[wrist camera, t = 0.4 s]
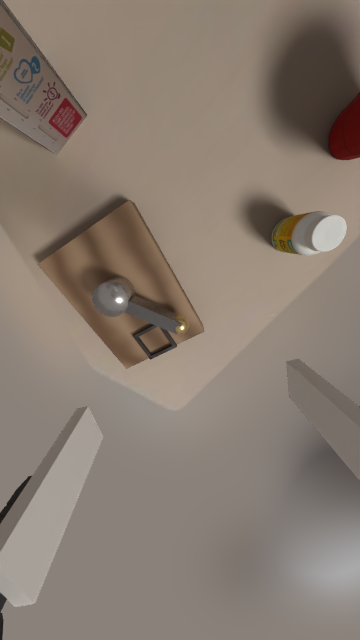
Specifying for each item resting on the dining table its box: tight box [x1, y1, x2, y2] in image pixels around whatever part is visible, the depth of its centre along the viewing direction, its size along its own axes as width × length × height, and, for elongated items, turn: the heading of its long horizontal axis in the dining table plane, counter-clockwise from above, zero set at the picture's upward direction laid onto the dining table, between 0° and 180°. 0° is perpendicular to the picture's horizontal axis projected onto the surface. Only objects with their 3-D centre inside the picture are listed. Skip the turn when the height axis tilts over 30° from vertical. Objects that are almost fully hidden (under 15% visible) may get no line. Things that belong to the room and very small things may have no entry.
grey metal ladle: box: [92, 276, 189, 335], centre depth 30 cm, size 15×5×5 cm, turn 64°
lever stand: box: [38, 200, 204, 369], centre depth 33 cm, size 18×24×4 cm
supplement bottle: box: [272, 211, 347, 255], centre depth 26 cm, size 5×5×10 cm
